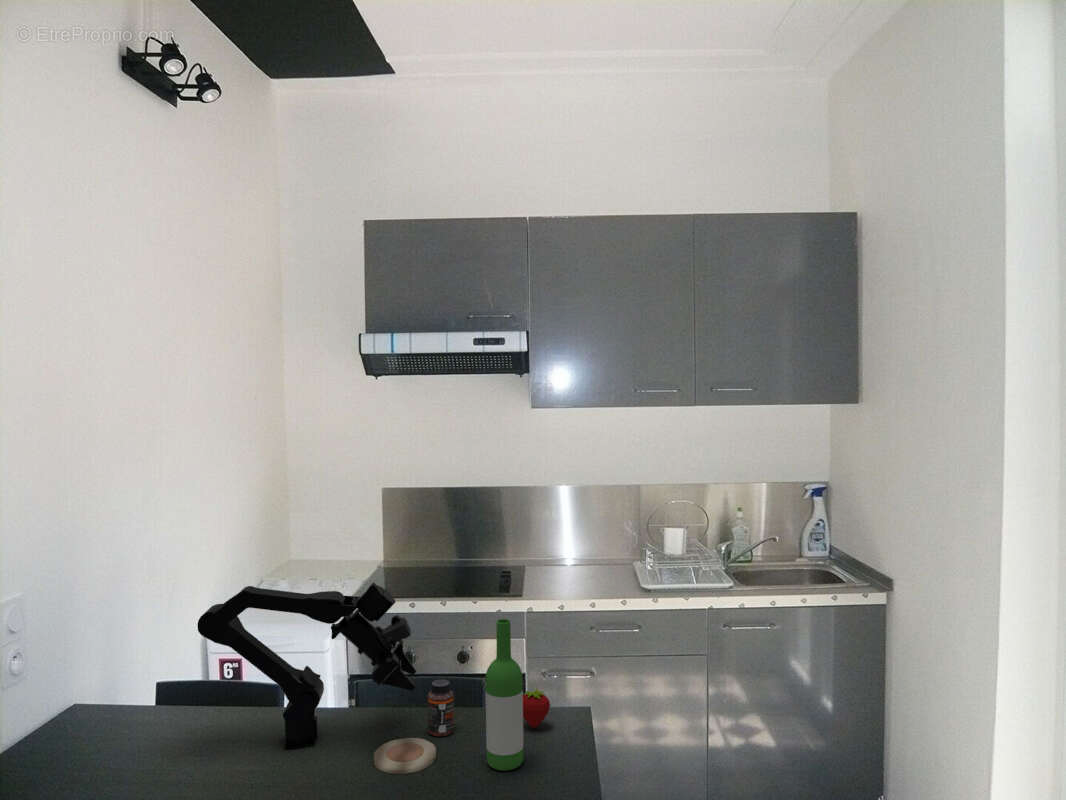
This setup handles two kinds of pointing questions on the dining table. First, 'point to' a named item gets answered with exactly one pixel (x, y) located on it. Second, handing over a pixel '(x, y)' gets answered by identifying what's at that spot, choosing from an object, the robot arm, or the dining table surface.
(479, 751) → the dining table surface
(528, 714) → the strawberry
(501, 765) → the wine bottle
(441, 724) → the supplement bottle
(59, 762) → the dining table surface
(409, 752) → the serving plate
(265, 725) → the dining table surface
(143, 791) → the dining table surface
